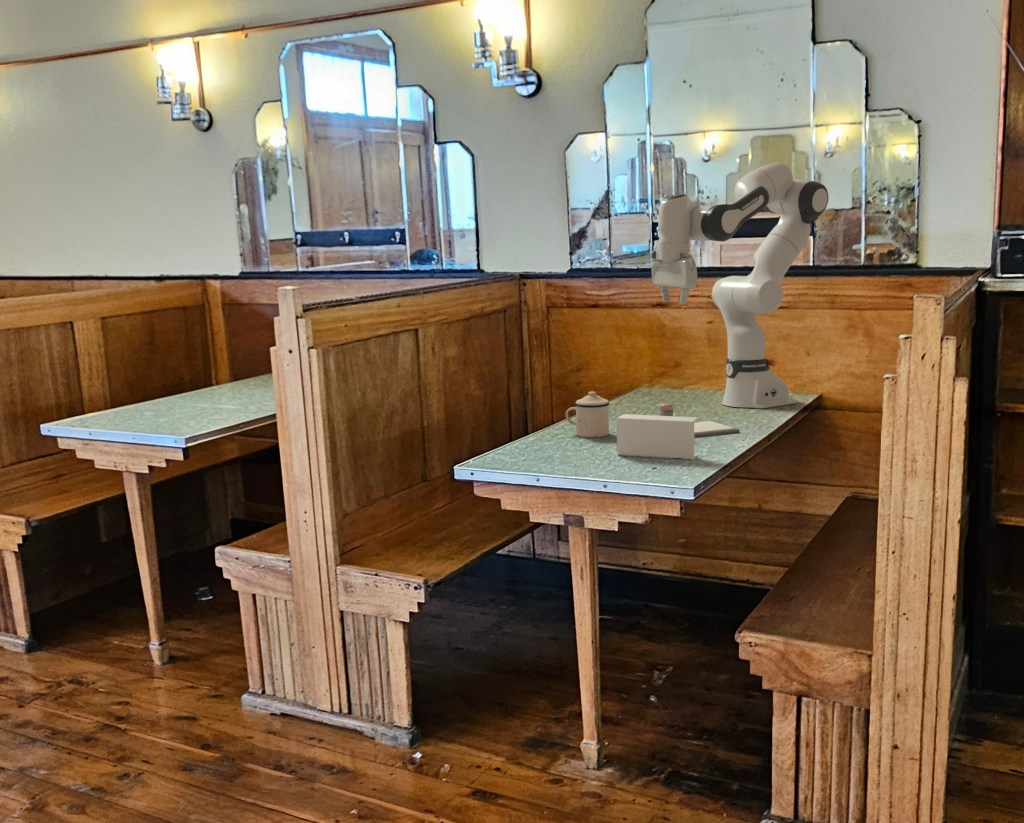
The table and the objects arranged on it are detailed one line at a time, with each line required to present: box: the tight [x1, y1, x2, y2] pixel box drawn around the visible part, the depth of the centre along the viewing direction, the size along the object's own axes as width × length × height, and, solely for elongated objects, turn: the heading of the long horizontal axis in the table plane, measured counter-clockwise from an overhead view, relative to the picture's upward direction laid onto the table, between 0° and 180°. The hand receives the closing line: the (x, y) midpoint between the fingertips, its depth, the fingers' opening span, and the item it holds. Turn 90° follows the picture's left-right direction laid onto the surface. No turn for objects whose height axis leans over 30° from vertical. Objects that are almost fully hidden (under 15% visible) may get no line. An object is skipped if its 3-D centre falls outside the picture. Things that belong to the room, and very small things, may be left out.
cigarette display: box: [616, 413, 699, 461], centre depth 253 cm, size 20×6×9 cm, turn 66°
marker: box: [659, 402, 674, 416], centre depth 275 cm, size 4×4×8 cm
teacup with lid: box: [565, 391, 610, 439], centre depth 281 cm, size 12×9×12 cm
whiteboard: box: [694, 420, 741, 438], centre depth 281 cm, size 25×14×1 cm, turn 110°
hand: (674, 302), depth 296 cm, fingers open, 8 cm apart
